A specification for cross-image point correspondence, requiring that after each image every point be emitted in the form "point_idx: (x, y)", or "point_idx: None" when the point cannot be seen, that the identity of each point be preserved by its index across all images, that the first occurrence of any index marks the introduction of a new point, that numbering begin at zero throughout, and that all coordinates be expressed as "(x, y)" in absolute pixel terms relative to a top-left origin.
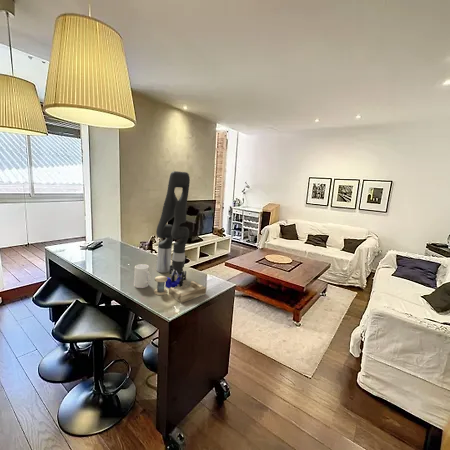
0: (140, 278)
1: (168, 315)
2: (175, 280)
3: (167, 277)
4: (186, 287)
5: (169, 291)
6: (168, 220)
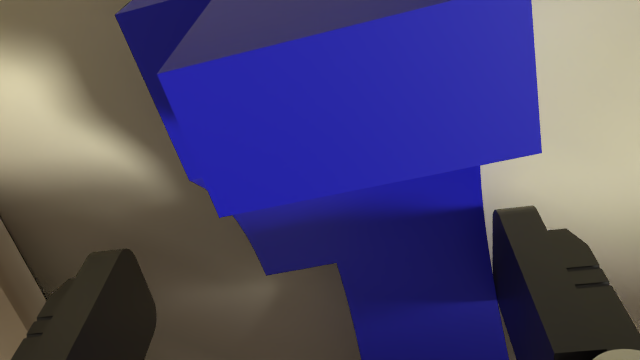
0: None
1: None
2: (495, 324)
3: (486, 102)
4: None
5: None
6: None
